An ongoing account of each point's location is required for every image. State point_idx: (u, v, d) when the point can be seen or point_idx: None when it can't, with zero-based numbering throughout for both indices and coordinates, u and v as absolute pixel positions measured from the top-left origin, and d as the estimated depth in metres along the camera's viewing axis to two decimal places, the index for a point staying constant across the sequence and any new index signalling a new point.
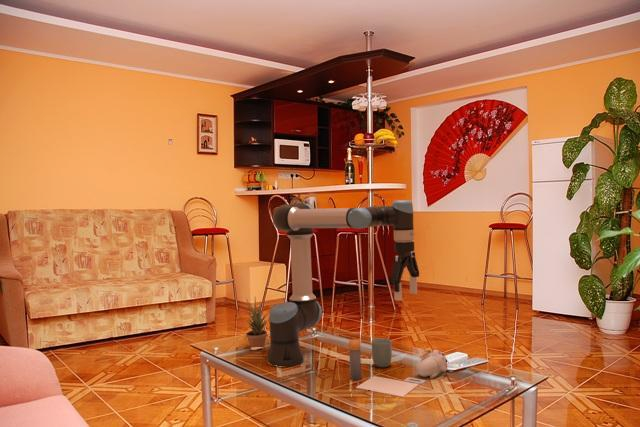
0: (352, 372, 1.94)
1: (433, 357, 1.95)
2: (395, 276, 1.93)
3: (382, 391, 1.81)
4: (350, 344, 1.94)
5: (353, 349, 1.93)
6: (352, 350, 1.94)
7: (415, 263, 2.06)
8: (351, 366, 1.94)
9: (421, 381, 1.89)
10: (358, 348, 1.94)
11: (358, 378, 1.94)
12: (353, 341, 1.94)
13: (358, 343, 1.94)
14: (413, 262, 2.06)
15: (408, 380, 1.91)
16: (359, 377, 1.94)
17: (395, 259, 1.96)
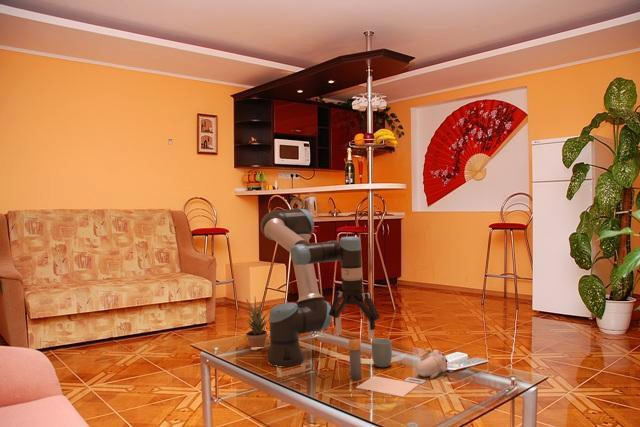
0: (352, 372, 1.94)
1: (433, 357, 1.95)
2: None
3: (382, 391, 1.81)
4: (350, 344, 1.94)
5: (353, 349, 1.93)
6: (352, 350, 1.94)
7: (368, 306, 1.90)
8: (351, 366, 1.94)
9: (421, 381, 1.89)
10: (358, 348, 1.94)
11: (358, 378, 1.94)
12: (353, 341, 1.94)
13: (358, 343, 1.94)
14: (368, 304, 1.91)
15: (408, 380, 1.91)
16: (359, 377, 1.94)
17: None
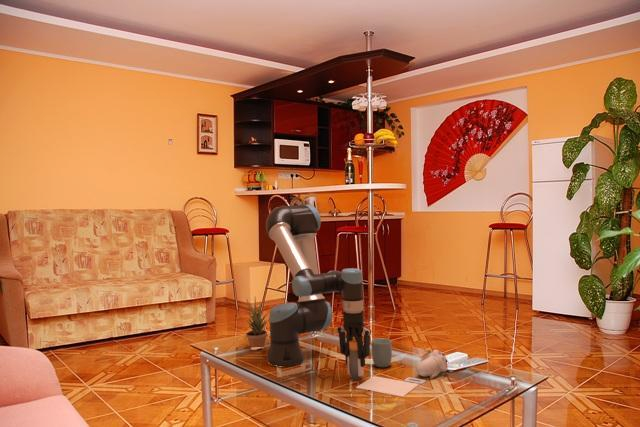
0: (352, 372, 1.94)
1: (433, 357, 1.95)
2: None
3: (382, 391, 1.81)
4: (350, 344, 1.94)
5: (353, 349, 1.93)
6: (352, 350, 1.94)
7: None
8: (351, 366, 1.94)
9: (421, 381, 1.89)
10: None
11: (358, 378, 1.94)
12: (353, 341, 1.94)
13: None
14: None
15: (408, 380, 1.91)
16: (359, 377, 1.94)
17: None
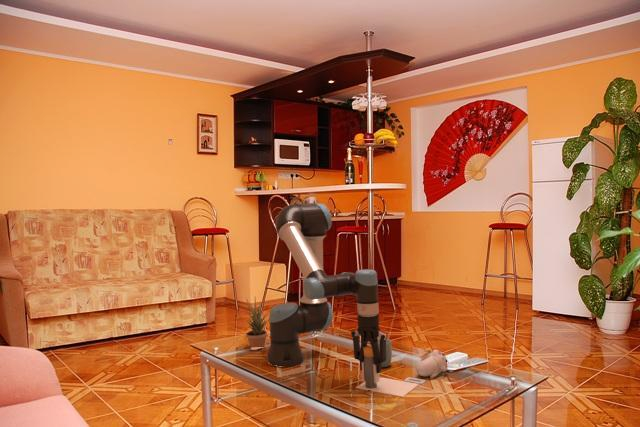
0: (367, 380, 1.85)
1: (433, 357, 1.95)
2: None
3: (382, 391, 1.81)
4: (365, 350, 1.85)
5: (368, 355, 1.84)
6: (367, 356, 1.84)
7: None
8: (366, 373, 1.85)
9: (421, 381, 1.89)
10: None
11: (374, 386, 1.84)
12: (368, 347, 1.85)
13: None
14: None
15: (408, 380, 1.91)
16: (375, 385, 1.85)
17: None
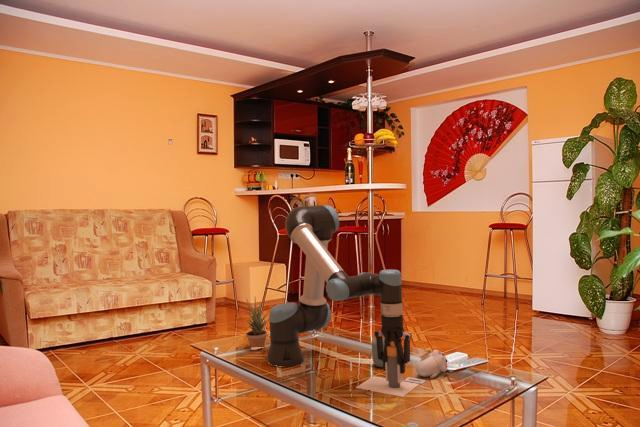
0: (391, 379, 1.84)
1: (433, 357, 1.95)
2: None
3: (382, 391, 1.81)
4: (389, 350, 1.84)
5: (392, 355, 1.83)
6: (391, 356, 1.83)
7: None
8: (390, 373, 1.84)
9: (421, 381, 1.89)
10: None
11: (397, 386, 1.84)
12: (392, 346, 1.84)
13: None
14: None
15: (408, 380, 1.91)
16: (398, 384, 1.84)
17: None
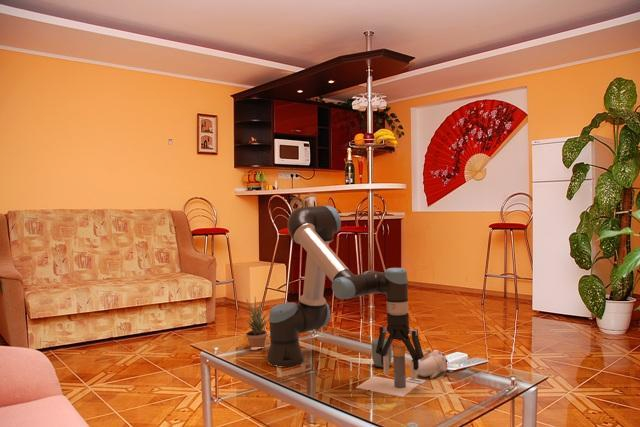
0: (397, 379, 1.84)
1: (433, 357, 1.95)
2: None
3: (382, 391, 1.81)
4: (395, 350, 1.84)
5: (398, 355, 1.83)
6: (397, 356, 1.83)
7: None
8: (395, 373, 1.84)
9: (421, 381, 1.89)
10: (403, 354, 1.83)
11: (403, 386, 1.84)
12: (397, 347, 1.84)
13: (403, 349, 1.83)
14: None
15: (408, 380, 1.91)
16: (404, 384, 1.84)
17: None
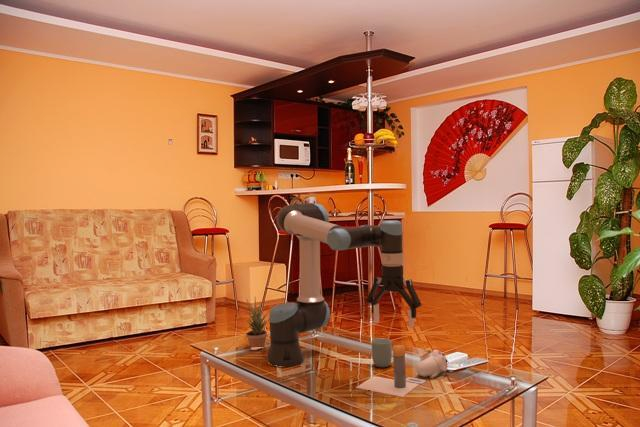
0: (397, 379, 1.84)
1: (433, 357, 1.95)
2: None
3: (382, 391, 1.81)
4: (395, 350, 1.84)
5: (398, 355, 1.83)
6: (397, 356, 1.83)
7: (409, 293, 1.81)
8: (395, 373, 1.84)
9: (421, 381, 1.89)
10: (403, 354, 1.83)
11: (403, 386, 1.84)
12: (397, 346, 1.84)
13: (403, 349, 1.83)
14: None
15: (408, 380, 1.91)
16: (404, 384, 1.84)
17: None
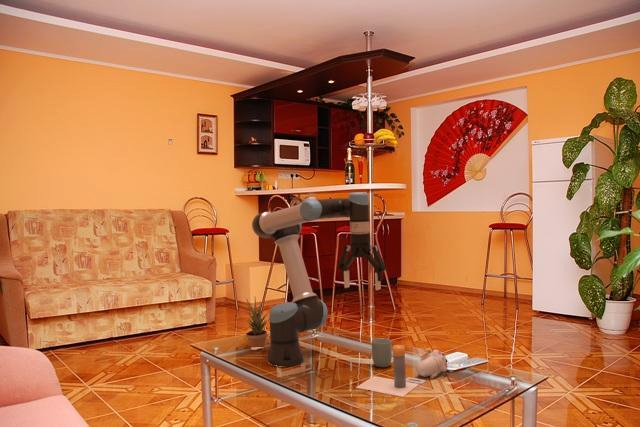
0: (397, 379, 1.84)
1: (433, 357, 1.95)
2: None
3: (382, 391, 1.81)
4: (394, 350, 1.84)
5: (398, 355, 1.83)
6: (397, 356, 1.83)
7: None
8: (395, 373, 1.84)
9: (421, 381, 1.89)
10: (403, 354, 1.83)
11: (403, 386, 1.84)
12: (397, 347, 1.84)
13: (403, 349, 1.83)
14: None
15: (408, 380, 1.91)
16: (404, 384, 1.84)
17: None
